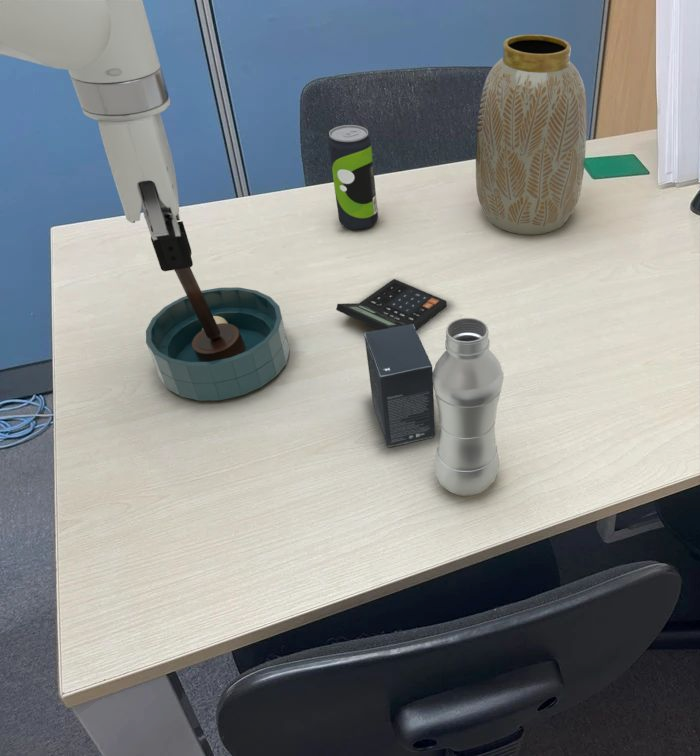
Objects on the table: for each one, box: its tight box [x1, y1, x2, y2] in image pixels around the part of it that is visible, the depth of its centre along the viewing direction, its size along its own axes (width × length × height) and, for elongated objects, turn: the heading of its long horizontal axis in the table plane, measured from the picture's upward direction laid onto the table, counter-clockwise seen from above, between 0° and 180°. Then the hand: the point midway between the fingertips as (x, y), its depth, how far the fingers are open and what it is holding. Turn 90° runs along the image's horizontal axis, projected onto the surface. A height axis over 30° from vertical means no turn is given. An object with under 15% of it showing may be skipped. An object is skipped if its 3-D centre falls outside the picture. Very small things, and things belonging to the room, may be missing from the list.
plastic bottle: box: [432, 317, 504, 497], centre depth 68 cm, size 6×7×20 cm
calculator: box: [335, 278, 448, 331], centre depth 95 cm, size 9×12×3 cm
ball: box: [202, 316, 228, 330], centre depth 89 cm, size 3×3×3 cm
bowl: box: [145, 286, 290, 402], centre depth 85 cm, size 15×15×6 cm
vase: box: [475, 34, 588, 236], centre depth 109 cm, size 17×17×27 cm
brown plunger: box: [165, 218, 246, 362], centre depth 80 cm, size 6×6×19 cm
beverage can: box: [327, 124, 379, 232], centre depth 109 cm, size 6×6×15 cm
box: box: [363, 324, 436, 448], centre depth 77 cm, size 8×6×11 cm
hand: (177, 261), depth 77 cm, fingers closed on brown plunger
